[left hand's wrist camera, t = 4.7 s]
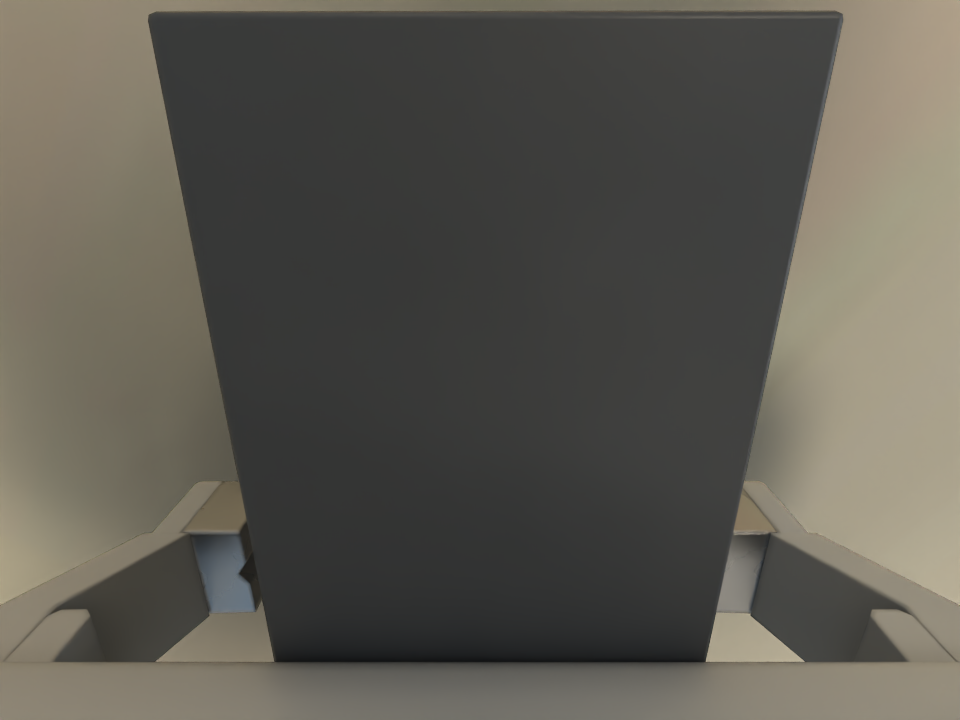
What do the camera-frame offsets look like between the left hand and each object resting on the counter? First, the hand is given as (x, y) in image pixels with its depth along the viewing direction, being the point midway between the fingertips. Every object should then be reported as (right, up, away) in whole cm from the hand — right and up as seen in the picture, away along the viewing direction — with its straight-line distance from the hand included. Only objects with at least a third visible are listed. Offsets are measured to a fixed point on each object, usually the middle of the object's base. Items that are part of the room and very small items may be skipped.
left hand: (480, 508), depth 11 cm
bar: (0, -29, +15) cm, 33 cm away
